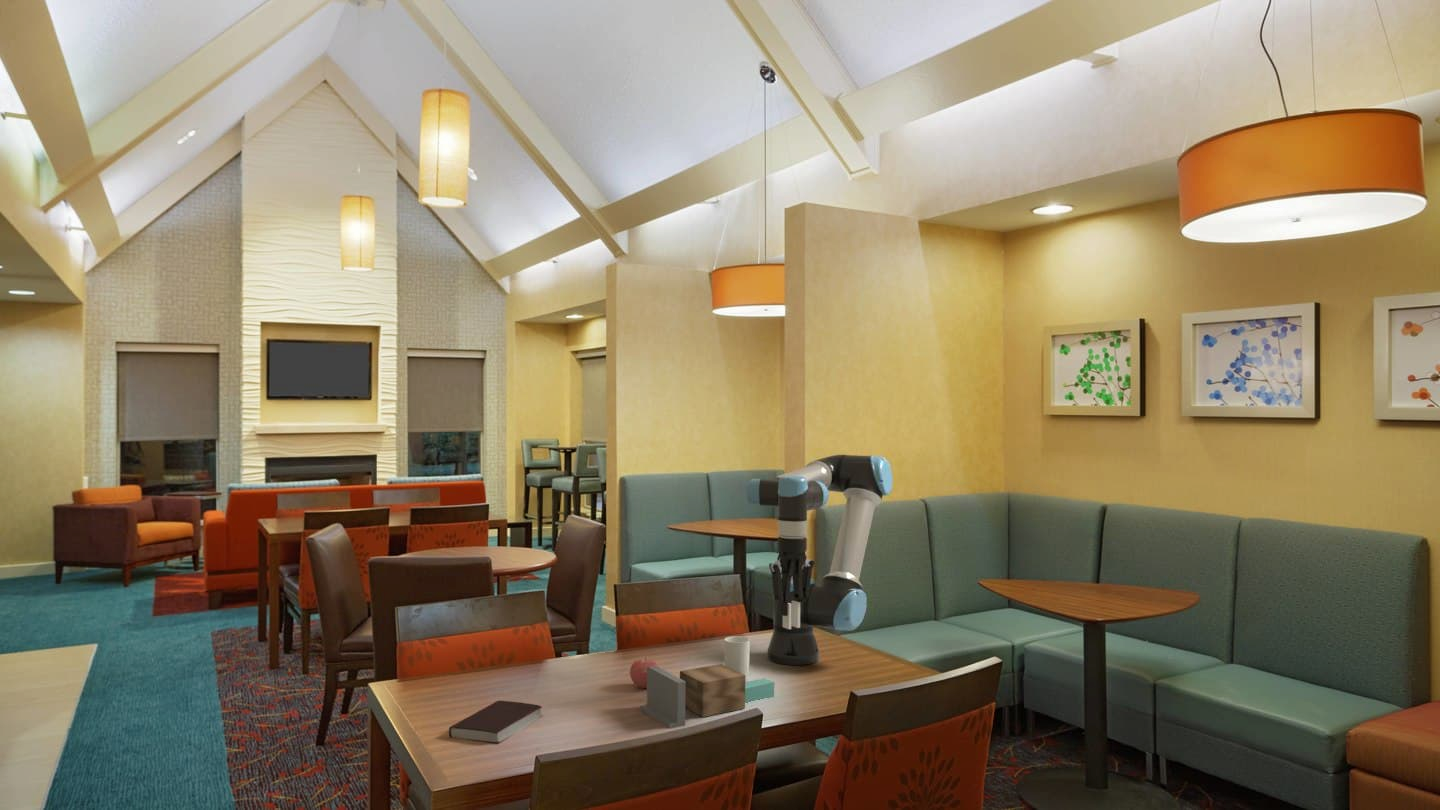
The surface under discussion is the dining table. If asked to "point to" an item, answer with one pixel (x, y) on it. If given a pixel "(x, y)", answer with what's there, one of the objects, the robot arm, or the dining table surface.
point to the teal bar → (758, 690)
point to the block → (713, 690)
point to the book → (496, 722)
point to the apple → (641, 671)
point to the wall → (665, 697)
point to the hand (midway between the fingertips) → (791, 627)
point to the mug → (737, 654)
